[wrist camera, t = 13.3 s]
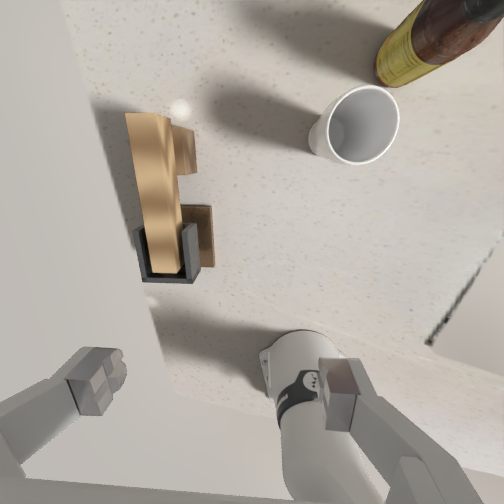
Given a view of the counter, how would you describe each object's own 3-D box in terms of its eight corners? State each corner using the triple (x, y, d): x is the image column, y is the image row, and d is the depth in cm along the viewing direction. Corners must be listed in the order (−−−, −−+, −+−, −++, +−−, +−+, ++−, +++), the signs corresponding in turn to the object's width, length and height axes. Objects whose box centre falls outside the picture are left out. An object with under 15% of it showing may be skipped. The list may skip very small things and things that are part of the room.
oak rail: (143, 118, 31) (124, 113, 27) (170, 118, 31) (155, 112, 26) (165, 259, 38) (152, 272, 34) (186, 260, 38) (176, 273, 34)
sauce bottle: (422, 28, 30) (658, -167, 12) (417, 85, 33) (611, -5, 14) (368, 40, 31) (514, -126, 13) (368, 95, 33) (491, 21, 15)
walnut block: (197, 172, 39) (185, 175, 33) (161, 172, 39) (143, 174, 34) (193, 131, 36) (180, 126, 31) (155, 131, 37) (135, 127, 31)
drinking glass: (298, 159, 37) (317, 161, 23) (307, 109, 34) (334, 78, 21) (341, 164, 37) (386, 170, 23) (354, 115, 34) (412, 88, 21)
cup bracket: (215, 264, 45) (201, 292, 36) (163, 263, 45) (136, 290, 36) (211, 206, 41) (194, 221, 31) (154, 205, 41) (121, 220, 32)
